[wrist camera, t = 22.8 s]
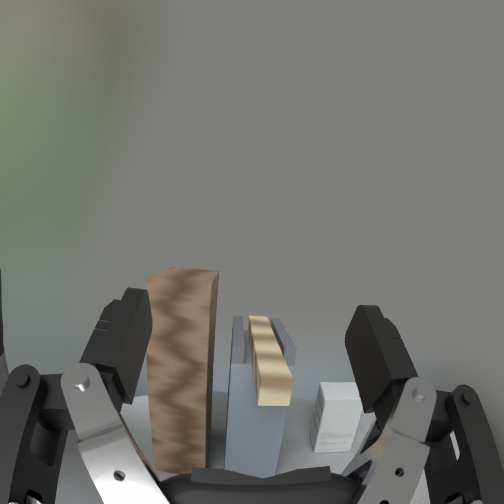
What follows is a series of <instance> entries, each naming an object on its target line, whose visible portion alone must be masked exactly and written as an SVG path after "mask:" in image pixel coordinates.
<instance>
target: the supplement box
mask: <svg viewBox="0 0 504 504" xmlns="http://www.w3.org/2000/svg"><path fill="white" fill-rule="evenodd" d="M362 408H363V406H362V403H361V399H360V395H359V391H358V388H357V385H356V384H355V383H354V382H346V383H345V382H344V383H333V382H331V383H330V382H320V383H319V390H318V395H317V400H316V405H315V410H314V415H313V420H312V424H311V429H310V435H311V441H312V446H313V452H314V453H329V452H349V451H350V449H351V446H352V442H353V439H354V436H355V433H356V429H357V426H358V423H359V419H360V416H361V412H362Z"/></svg>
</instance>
